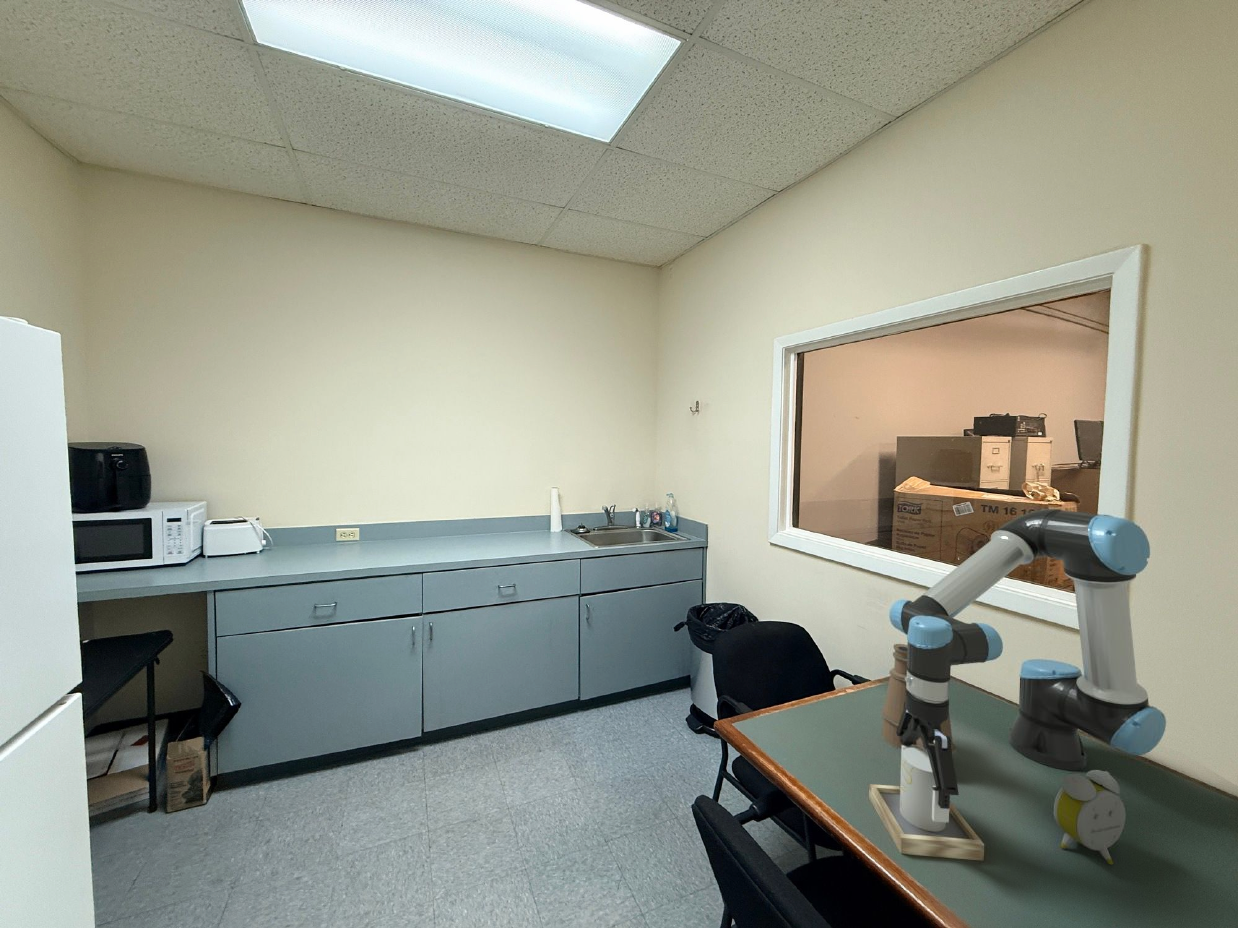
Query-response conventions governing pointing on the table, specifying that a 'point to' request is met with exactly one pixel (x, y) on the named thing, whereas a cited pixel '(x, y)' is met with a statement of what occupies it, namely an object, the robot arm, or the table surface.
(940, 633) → the robot arm
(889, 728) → the binoculars
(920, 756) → the white cylinder
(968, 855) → the square picture frame
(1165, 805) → the table surface
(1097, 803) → the alarm clock
